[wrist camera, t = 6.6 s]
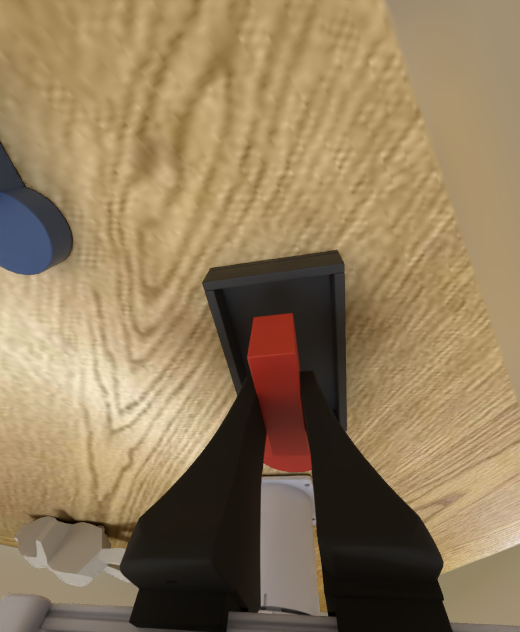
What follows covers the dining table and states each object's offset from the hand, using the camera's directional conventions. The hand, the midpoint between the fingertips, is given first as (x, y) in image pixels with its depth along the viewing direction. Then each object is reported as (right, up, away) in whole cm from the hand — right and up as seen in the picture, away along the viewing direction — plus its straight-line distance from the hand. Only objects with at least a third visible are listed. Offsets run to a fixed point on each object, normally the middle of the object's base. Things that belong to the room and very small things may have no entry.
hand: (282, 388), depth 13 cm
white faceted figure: (-24, -25, +24) cm, 42 cm away
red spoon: (0, -1, +2) cm, 2 cm away
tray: (+1, +1, +5) cm, 5 cm away
